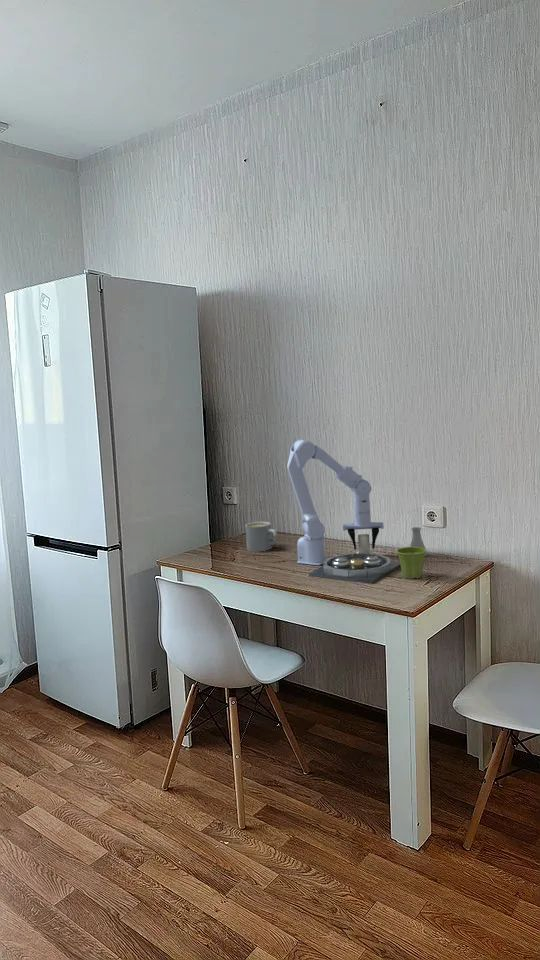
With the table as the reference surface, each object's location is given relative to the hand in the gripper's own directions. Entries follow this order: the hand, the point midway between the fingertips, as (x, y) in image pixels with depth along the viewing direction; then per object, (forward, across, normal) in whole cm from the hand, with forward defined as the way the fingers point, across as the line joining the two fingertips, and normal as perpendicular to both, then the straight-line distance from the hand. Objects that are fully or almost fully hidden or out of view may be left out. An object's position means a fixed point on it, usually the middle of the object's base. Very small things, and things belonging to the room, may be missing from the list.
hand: (364, 548), depth 249 cm
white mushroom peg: (+3, 0, 0) cm, 3 cm away
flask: (+3, -19, +2) cm, 19 cm away
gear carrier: (+3, +3, +18) cm, 18 cm away
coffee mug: (+3, +39, -18) cm, 43 cm away
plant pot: (+3, -14, +28) cm, 31 cm away
